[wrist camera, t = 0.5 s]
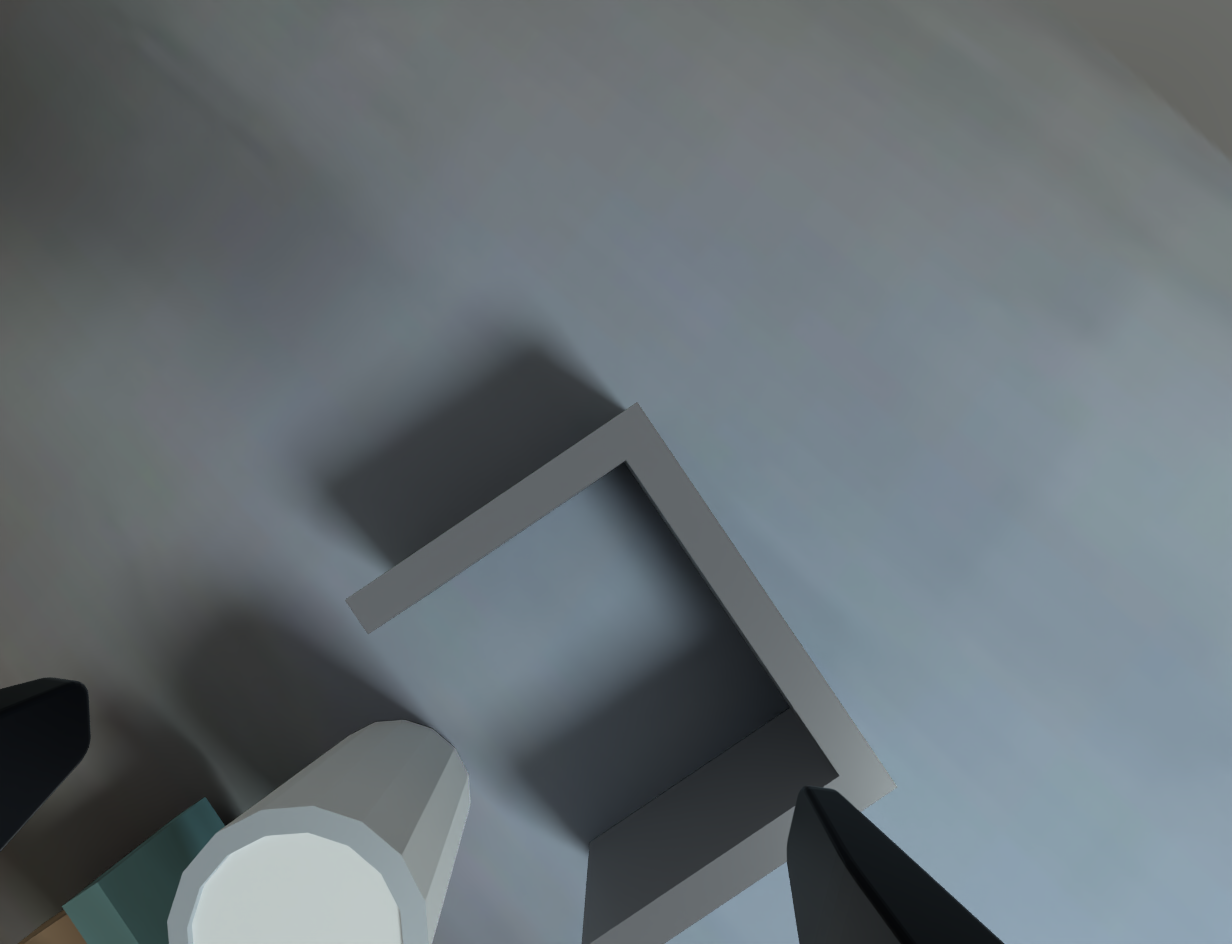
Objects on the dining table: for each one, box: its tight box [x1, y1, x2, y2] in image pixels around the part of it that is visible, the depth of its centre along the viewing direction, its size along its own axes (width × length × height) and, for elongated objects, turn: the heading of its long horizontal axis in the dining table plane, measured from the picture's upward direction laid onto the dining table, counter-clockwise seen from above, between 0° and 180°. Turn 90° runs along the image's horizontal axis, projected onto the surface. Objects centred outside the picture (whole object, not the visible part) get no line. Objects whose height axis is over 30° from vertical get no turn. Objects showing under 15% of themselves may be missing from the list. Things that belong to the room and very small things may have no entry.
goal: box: [345, 403, 897, 944], centre depth 20 cm, size 10×13×5 cm
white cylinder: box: [167, 720, 471, 944], centre depth 19 cm, size 7×7×7 cm
